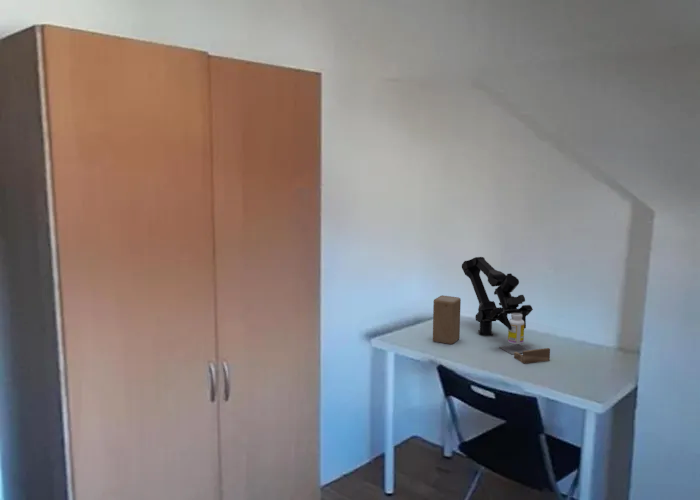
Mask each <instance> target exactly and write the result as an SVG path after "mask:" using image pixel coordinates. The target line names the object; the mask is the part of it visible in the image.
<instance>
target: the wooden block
mask: <svg viewBox="0 0 700 500" xmlns="http://www.w3.org/2000/svg"><path fill="white" fill-rule="evenodd" d="M432 311H433V313H432V316H433V318H432V319H433V321H432V341H433V342H436V343H442V344H448V345H453V344H454V343H456V342H457V341H458V340H459V339H460V336H461V335H460V333H461V330H460V329H461V326H460V325H461V298H460V297H459V296H458V297H457V296H449V295H440V296H438V297H436V298H434V299H433V310H432Z"/></svg>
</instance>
